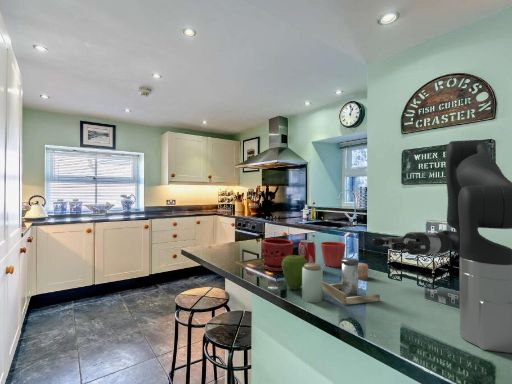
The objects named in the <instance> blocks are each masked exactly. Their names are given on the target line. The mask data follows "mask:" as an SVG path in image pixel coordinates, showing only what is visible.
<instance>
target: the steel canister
mask: <svg viewBox="0 0 512 384" xmlns="http://www.w3.org/2000/svg"><path fill="white" fill-rule="evenodd" d="M341 263H342V266H341V283H342V289H341V292H343V293H345V294H346V297H355V296H359V280H358V263H359V259H356V258H353V257H344V258H342V259H341Z"/></svg>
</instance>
